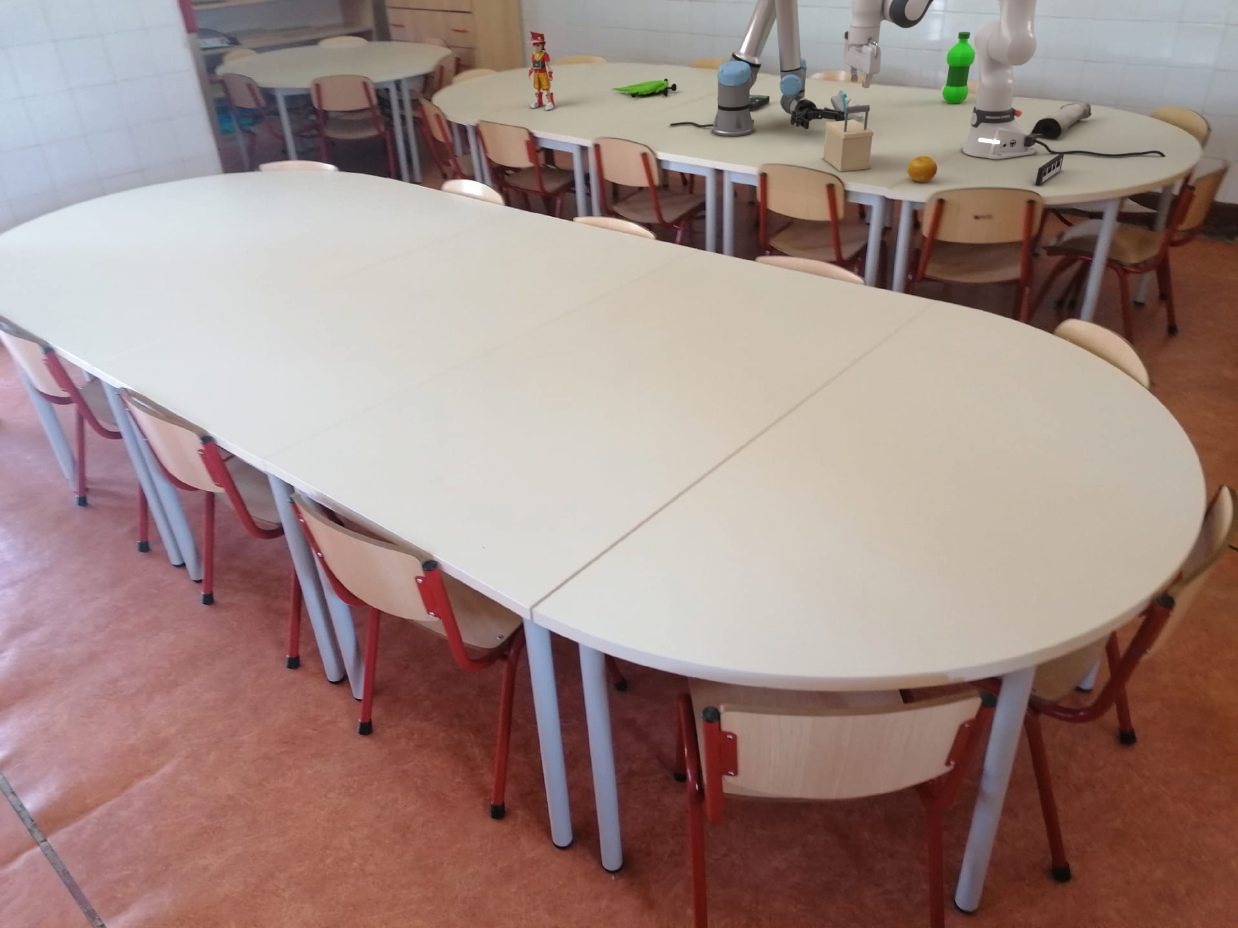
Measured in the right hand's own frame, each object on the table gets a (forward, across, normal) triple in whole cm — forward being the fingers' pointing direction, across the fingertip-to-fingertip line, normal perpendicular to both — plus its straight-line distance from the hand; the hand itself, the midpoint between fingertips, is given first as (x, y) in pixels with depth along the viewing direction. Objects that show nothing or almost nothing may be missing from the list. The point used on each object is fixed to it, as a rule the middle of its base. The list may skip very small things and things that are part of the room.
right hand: (859, 84), depth 279 cm
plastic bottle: (+26, +66, -69) cm, 99 cm away
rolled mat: (+26, +18, -85) cm, 90 cm away
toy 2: (+26, +134, +44) cm, 143 cm away
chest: (+26, +5, 0) cm, 26 cm away
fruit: (+26, -20, -15) cm, 35 cm away
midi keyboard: (+26, -30, -51) cm, 65 cm away
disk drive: (+26, +91, +7) cm, 95 cm away
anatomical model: (+26, +61, -22) cm, 70 cm away
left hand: (+19, +29, -2) cm, 34 cm away
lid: (+15, +5, 0) cm, 16 cm away
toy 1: (+26, +122, +89) cm, 154 cm away
